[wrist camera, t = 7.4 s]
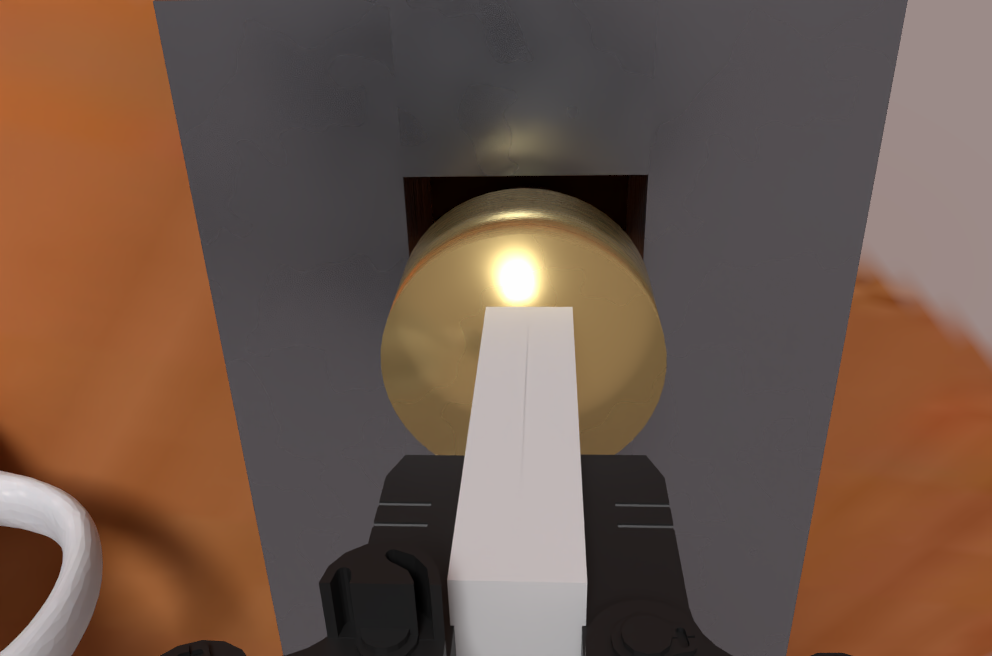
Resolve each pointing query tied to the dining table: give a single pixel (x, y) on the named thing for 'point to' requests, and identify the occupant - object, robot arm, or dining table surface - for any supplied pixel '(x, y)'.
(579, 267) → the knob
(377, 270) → the mount plate
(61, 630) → the mug
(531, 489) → the robot arm
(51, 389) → the dining table surface
